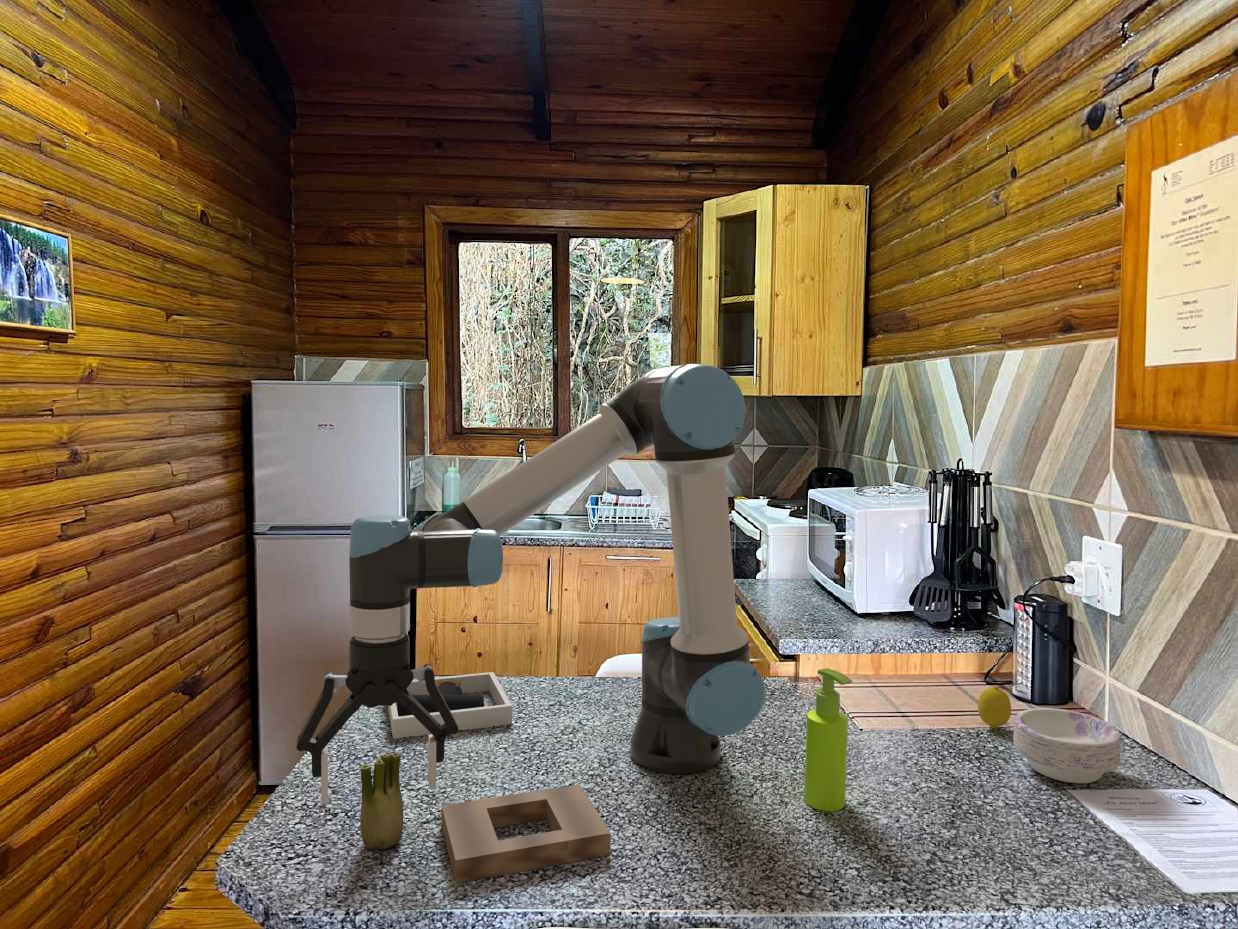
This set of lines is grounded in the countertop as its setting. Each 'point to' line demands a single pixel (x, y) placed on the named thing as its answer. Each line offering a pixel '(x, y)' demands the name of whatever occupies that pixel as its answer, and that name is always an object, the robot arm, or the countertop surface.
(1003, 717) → the lemon
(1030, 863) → the countertop surface
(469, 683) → the parts tray
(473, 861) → the jig block
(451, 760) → the countertop surface
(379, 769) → the fennel bulb
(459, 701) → the pipe connector
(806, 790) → the soap dispenser
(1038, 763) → the paper bowls
